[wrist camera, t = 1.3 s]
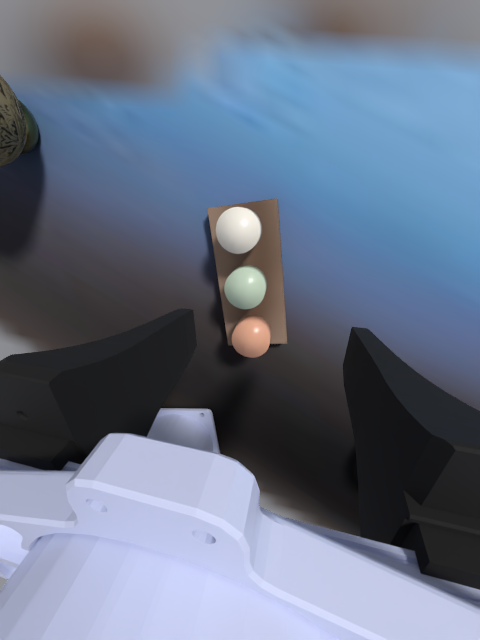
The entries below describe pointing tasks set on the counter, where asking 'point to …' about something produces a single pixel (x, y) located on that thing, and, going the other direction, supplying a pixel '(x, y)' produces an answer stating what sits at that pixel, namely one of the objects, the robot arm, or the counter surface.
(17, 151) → the cup
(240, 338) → the terracotta button
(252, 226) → the cream button
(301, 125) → the counter surface
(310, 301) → the counter surface
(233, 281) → the sage button
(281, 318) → the button panel
